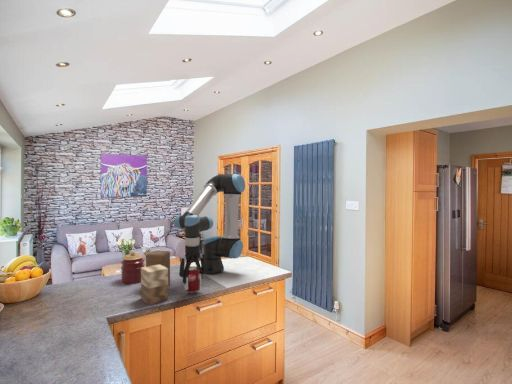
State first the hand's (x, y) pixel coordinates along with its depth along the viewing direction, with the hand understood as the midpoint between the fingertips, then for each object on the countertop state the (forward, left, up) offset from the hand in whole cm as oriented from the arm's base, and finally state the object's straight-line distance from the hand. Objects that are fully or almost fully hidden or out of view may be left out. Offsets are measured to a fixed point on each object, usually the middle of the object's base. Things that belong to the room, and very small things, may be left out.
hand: (193, 287), depth 160 cm
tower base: (+19, -6, -3) cm, 20 cm away
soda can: (0, 0, -2) cm, 2 cm away
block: (+10, -21, -4) cm, 24 cm away
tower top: (+19, -6, +5) cm, 20 cm away
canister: (+17, -42, -4) cm, 45 cm away
